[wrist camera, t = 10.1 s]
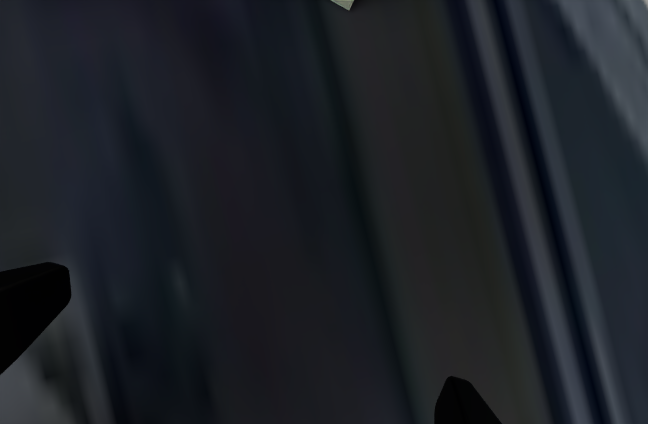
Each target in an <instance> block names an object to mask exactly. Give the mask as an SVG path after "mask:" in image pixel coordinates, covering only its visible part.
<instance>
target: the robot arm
mask: <svg viewBox="0 0 648 424" xmlns="http://www.w3.org/2000/svg"><path fill="white" fill-rule="evenodd" d="M70 299H71V285H70V275H69V270H68V268H67V267H65V266H63V265H59V264H56V263H52V262H46V263H41V264H36V265H31V266H26V267H21V268H16V269H11V270H7V271H2V272H0V375H1V374H2V373H3V372H4V371H5V370H6V369H7V368H8V367H9V366H10V365H11V364H12V363H13V362H14V361H16V360H17V359H18V357H19V356H20V355H21V354H22V353H23V352H24V351H25V350H26V349H27V348H28V347H29V346H30V345H31V344H32V343H33V342H34V340H35V339H36V338H37V337H38V336H39V335H40V334H41V333H42V332H43V331H44V330H45V329H46V328H47V326H48V325H49V324H50V323H51V322H52V321H53V320H54V319H55V318H56V317H57V316H58V315H59V313H60V312H61V311H62V310H63V309H64V308H65V307H66V306H67V305H68V303H69V301H70ZM434 424H502V423H501V422H500V421H499V419H498V418H497V417H496V415H495V414H494V413H493V411H492V410H491V409H490V408H489V406H488V405H487V404H486V402H485V401H484V400H483V398H482V397H481V396H480V394H479V393H478V392H477V391H476V389H475V388H474V387H473V385H472V384H471V383H470V382H469V381H467V380H464V379H461V378H457V377H454V376H450V377H448V378H447V379H446V381H445V384H444V386H443V388H442V391H441V393H440V395H439V398H438V400H437V402H436V406H435V414H434Z"/></svg>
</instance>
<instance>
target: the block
mask: <svg viewBox="0 0 648 424" xmlns="http://www.w3.org/2000/svg"><path fill="white" fill-rule="evenodd" d="M331 1H333V2H335V3H337V4H338V5H340V6H342V7H344V8H345V9H347V10H350V8H351V6H352V3H353V1H354V0H331Z"/></svg>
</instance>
